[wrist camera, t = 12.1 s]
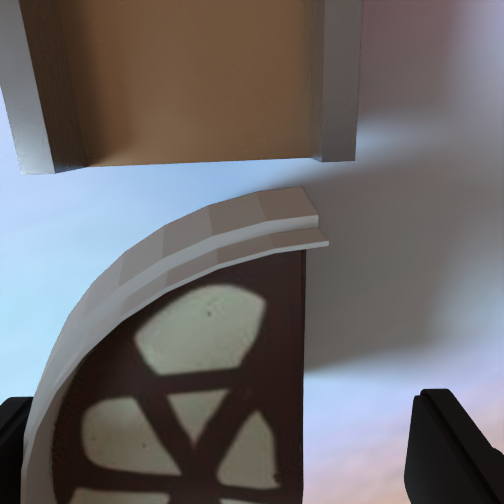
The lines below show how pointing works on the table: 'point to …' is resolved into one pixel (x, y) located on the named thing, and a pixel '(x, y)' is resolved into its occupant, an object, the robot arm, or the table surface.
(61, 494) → the food container
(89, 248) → the table surface
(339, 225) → the table surface
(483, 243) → the table surface
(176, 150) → the trolley
